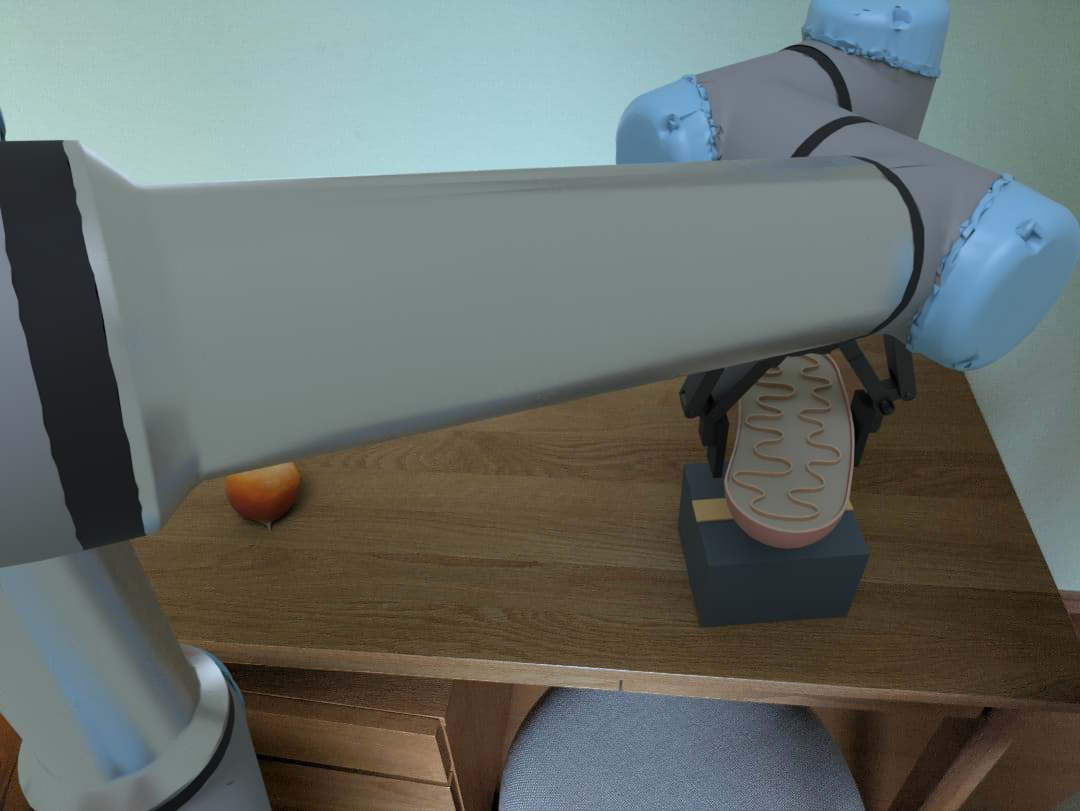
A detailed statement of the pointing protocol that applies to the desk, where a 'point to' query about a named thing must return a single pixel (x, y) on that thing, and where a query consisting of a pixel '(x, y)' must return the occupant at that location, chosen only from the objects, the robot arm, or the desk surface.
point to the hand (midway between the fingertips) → (781, 461)
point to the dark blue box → (761, 562)
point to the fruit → (263, 492)
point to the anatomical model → (792, 454)
